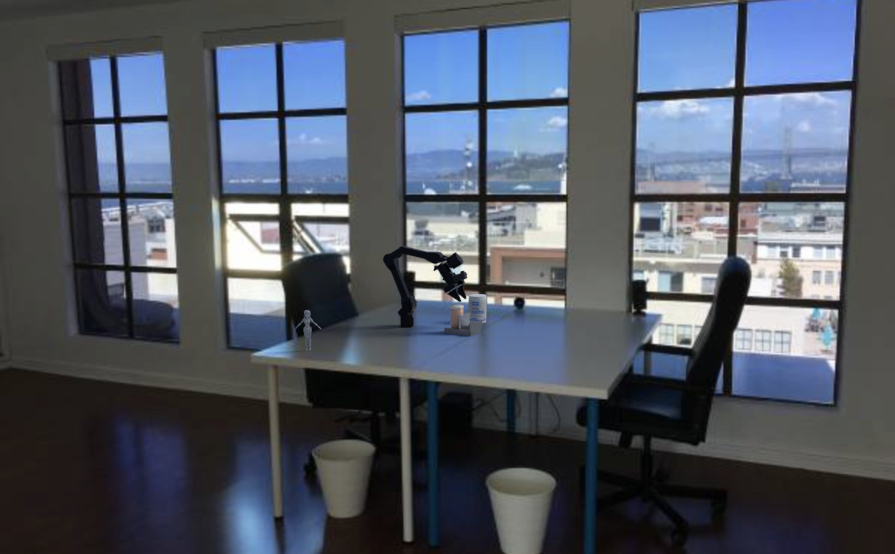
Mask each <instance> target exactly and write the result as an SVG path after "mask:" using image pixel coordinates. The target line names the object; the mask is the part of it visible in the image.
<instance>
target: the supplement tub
mask: <svg viewBox="0 0 895 554" xmlns="http://www.w3.org/2000/svg"><path fill="white" fill-rule="evenodd" d="M487 302H488V301H487V295H486V294H482V293H473V294H468V302H467V303H468V309H467V310H468V311H467V313H470V323H472V322H475V321H479V320H482V324H485V323H487Z"/></svg>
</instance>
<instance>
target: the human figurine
mask: <svg viewBox="0 0 895 554" xmlns="http://www.w3.org/2000/svg"><path fill="white" fill-rule="evenodd" d="M302 323H304V325H305V326H304V327H303V335H304V338H305V339H304V342H305V352H310V350H311V349H312V348H311V345H312V343H311V342H312V339H311V337H312V326H310V324H311V323H313V324H314V325H315V326H317V327H318V328H319V329H320V330H322V328H321V327H320V326H319V325H318V324H317V323H316V322H314V320H313V319H312V318H311V311H310V310H308V309H306V310H303V319H302V320H301V322H299V323H298V324H297V326H296V327H295V328H294V330H293V331H295V330H297V328H298V327H300V325H302ZM308 345H309V346H308ZM308 347H309V349H308ZM311 351H312V350H311Z"/></svg>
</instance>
